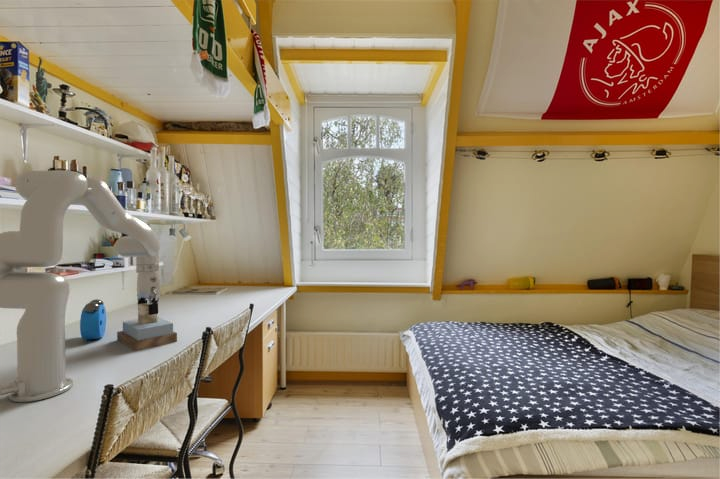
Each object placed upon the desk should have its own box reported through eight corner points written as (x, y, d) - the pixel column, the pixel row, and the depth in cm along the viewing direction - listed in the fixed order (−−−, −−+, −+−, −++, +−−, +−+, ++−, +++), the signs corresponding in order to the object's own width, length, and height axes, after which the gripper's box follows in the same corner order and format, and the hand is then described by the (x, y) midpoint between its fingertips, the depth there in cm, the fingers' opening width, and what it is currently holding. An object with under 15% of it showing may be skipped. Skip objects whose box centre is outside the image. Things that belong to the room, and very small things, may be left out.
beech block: (143, 324, 134) (143, 306, 134) (138, 322, 138) (137, 304, 137) (157, 321, 138) (157, 303, 138) (152, 319, 141) (151, 302, 141)
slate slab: (137, 340, 128) (137, 329, 127) (122, 331, 139) (122, 321, 139) (173, 333, 137) (173, 323, 137) (156, 325, 148) (156, 316, 148)
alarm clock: (88, 335, 145) (88, 298, 144) (107, 333, 148) (106, 297, 147) (79, 344, 133) (79, 304, 133) (99, 342, 136) (99, 303, 135)
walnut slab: (136, 352, 127) (136, 341, 127) (117, 342, 138) (117, 331, 138) (176, 343, 138) (176, 333, 138) (155, 334, 149) (155, 324, 149)
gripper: (168, 269, 135) (168, 313, 136) (148, 266, 146) (148, 307, 146) (146, 270, 129) (147, 317, 130) (127, 267, 140) (128, 310, 140)
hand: (147, 312), depth 138 cm, fingers open, 9 cm apart
